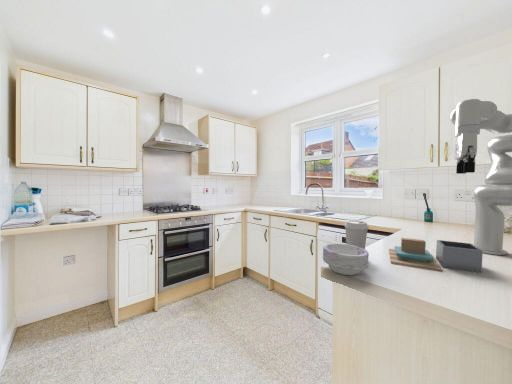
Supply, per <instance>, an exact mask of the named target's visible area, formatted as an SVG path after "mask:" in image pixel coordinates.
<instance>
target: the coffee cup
mask: <svg viewBox="0 0 512 384" xmlns="http://www.w3.org/2000/svg"><path fill="white" fill-rule="evenodd" d="M343 226H344V227H345V242H346V243H345V244H348V245H353V246H357V247H360V248H363V249H365V250H366V243H367V236H368V235H367V234H368V230H369V229H370V227H369V225H368V222H366V221H361V220H346V221H345V223H344V225H343Z"/></svg>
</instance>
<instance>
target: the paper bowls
mask: <svg viewBox="0 0 512 384" xmlns="http://www.w3.org/2000/svg"><path fill="white" fill-rule="evenodd" d="M322 260H323V262H324V263H326V264H327V266H328V268H329V269H330V270H331V271H332V272H335V273H337V274H340V275H344V276H354V275H358V274H359V273H361V271H363V270H365V269H367V268H368V265H369V251H368V250H366V248H365V249H363V248H360V247H357V246H353V245H348V244H346V243H335V242H334V243H328V244H324V245H323V248H322Z"/></svg>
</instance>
